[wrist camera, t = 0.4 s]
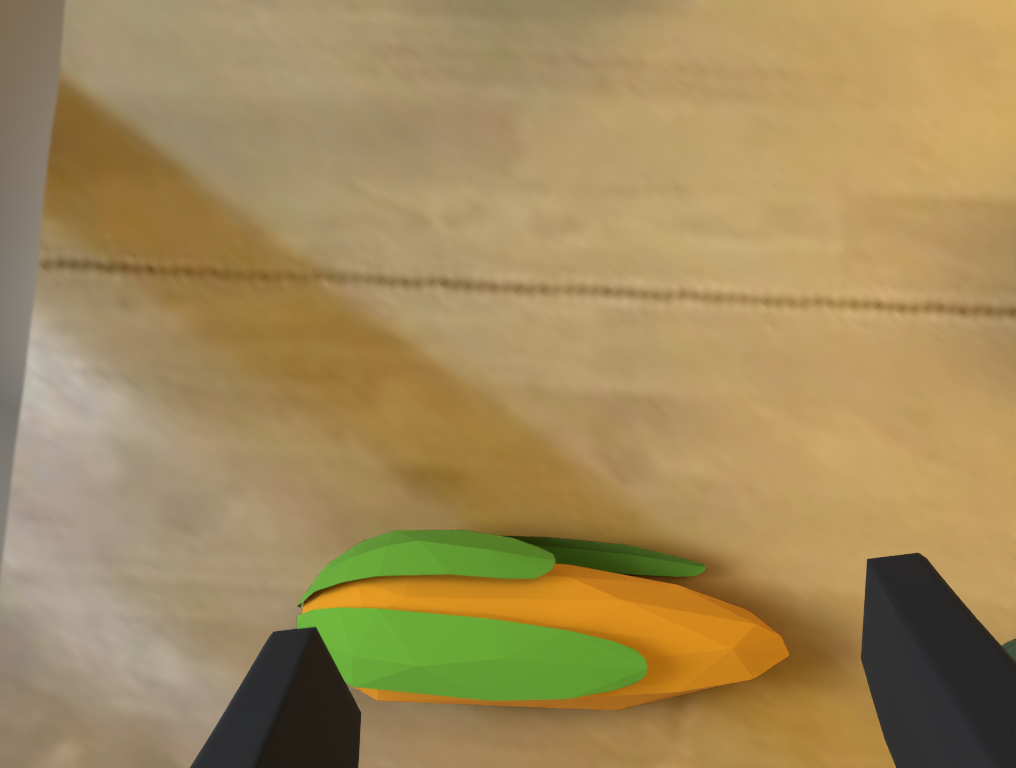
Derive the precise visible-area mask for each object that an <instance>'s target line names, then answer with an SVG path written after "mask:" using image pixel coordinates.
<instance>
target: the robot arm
mask: <svg viewBox="0 0 1016 768" xmlns="http://www.w3.org/2000/svg"><path fill="white" fill-rule="evenodd" d="M861 660H862V664H863V667H864V671H865V674H866V677H867V681H868V684H869V688H870V691H871V695H872V698H873V702H874V705H875V708H876V712H877V715H878V718H879V722H880V725H881V728H882V732H883V735H884V738H885V741H886V743H887V746H888V748H889V751H890V753H891V756H892V758H893V760H894V763H895V765H896V768H1016V661H1015V660H1014V659H1013V658H1012V657H1011V656H1010V655H1009V654H1008V653H1007V652H1006V651H1005V649H1004V648H1003V647H1002V646H1001V645H1000V644H999V643H998V642H997V641H996V639H995V638H994V637H993V636H992V635H991V634H990V633H989V632H988V631H987V629H986V628H985V627H984V626H983V625H982V624H981V623H980V622H979V620H978V619H977V618H976V617H975V616H974V615H973V614H972V612H971V611H970V610H969V609H968V608H967V607H966V605H965V604H964V603H963V602H962V601H961V600H960V598H959V597H958V596H957V595H956V594H955V592H954V591H953V590H952V589H951V588H950V586H949V585H948V584H947V583H946V582H945V580H944V579H943V578H942V577H941V576H940V574H939V573H938V572H937V571H936V569H935V568H934V567H933V566H932V564H931V563H930V562H929V561H928V559H927V558H925V557H924V556H922V555H921V554H919V553H913V554H905V555H896V556H888V557H880V558H872V559H867V570H866V586H865V603H864V619H863V635H862V651H861ZM360 725H361V712H360V710H359V708H358V706H357V704H356V702H355V700H354V698H353V696H352V694H351V692H350V691H349V689H348V687H347V685H346V683H345V681H344V679H343V677H342V675H341V673H340V672H339V670H338V668H337V666H336V664H335V662H334V660H333V658H332V656H331V654H330V652H329V651H328V649H327V647H326V645H325V643H324V641H323V639H322V637H321V635H320V633H319V631H318V630H317V628H316V627H308V628H300V629H292V630H284V631H276V632H273V633H272V634H271V635H270V637H269V638H268V640H267V641H266V643H265V645H264V646H263V648H262V650H261V651H260V653H259V655H258V656H257V658H256V660H255V661H254V663H253V665H252V667H251V668H250V670H249V672H248V673H247V675H246V677H245V678H244V680H243V682H242V684H241V685H240V687H239V689H238V690H237V692H236V694H235V695H234V697H233V699H232V700H231V702H230V704H229V705H228V707H227V709H226V710H225V712H224V714H223V715H222V717H221V719H220V720H219V722H218V724H217V725H216V727H215V729H214V730H213V732H212V733H211V735H210V737H209V738H208V740H207V741H206V743H205V745H204V746H203V748H202V749H201V751H200V753H199V754H198V756H197V757H196V759H195V760H194V762H193V764H192V765H191V767H190V768H358V762H359V745H360Z"/></svg>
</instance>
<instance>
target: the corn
mask: <svg viewBox="0 0 1016 768" xmlns="http://www.w3.org/2000/svg"><path fill="white" fill-rule="evenodd" d="M705 569H706V566H705V565H704V564H700V563H697V562H693V561H690V560H686V559H683V558H680V557H676V556H672V555H668V554H664V553H659V552H655V551H651V550H646V549H642V548H638V547H634V546H629V545H622V544H612V543H602V542H591V541H581V540H571V539H561V538H550V537H525V536H497V535H491V534H485V533H478V532H472V531H466V530H410V531H392V532H389V533H386V534H383V535H380V536H377V537H374V538H371V539H368V540H364V541H362V542H360V543H359V544H357V545H356V546H354V547H353V548H351V549H350V550H348V551H347V552H345V553H343V554H342V555H340V556H339V557H337V558H336V559H334V560H333V561H331V562H330V563H329V564H328V565H327V566H326V567H325V568H324V569H323V570H322V571H321V573H320V574H319V575H318V577H317V578H316V579H315V581H314V582H313V584H312V585H311V586H310V588H309V589H308V591H307V592H306V593H305V595H304V596H303V598H302V599H301V601H300V603H299V605H298V607H300V608H301V604H302V602H303V601H304V600H305V599H306V598H307V597H308V596H309V597H308V598H307V599H306V600H305V601H304V604H303V610H302V614H301V615H299V616H297V629H300V628H308V627H316V628H317V630H318V631H319V633H320V635H321V637H322V639H323V641H324V643H325V645H326V647H327V649H328V651H329V652H330V654H331V656H332V658H333V660H334V662H335V664H336V666H337V668H338V670H339V672H340V673H341V675H342V677H343V679H344V681H345V683H347V684H349V685H350V686H352V687H355V688H357V689H359V690H360V691H362V692H364V693H365V694H367V695H369V696H370V697H372V698H374V699H376V700H377V701H396V702H420V703H445V704H470V705H494V706H519V707H544V708H568V709H593V710H620V709H624V708H629V707H633V706H637V705H641V704H646V703H650V702H654V701H658V700H663V699H667V698H671V697H676V696H680V695H684V694H688V693H693V692H697V691H701V690H705V689H710V688H714V687H718V686H723V685H727V684H731V683H735V682H740V681H746V680H751V679H754V678H756V677H757V676H759V675H760V674H762V673H763V672H765V671H766V670H768V669H769V668H771V667H772V666H774V665H775V664H777V663H778V662H780V661H781V660H783V659H784V658H786V657H787V656H789V652H788V650H787V648H786V646H785V644H784V642H783V639H782V637H781V636H780V635H779V634H778V633H776V632H775V631H774V630H773V629H771V628H770V627H769V626H768V625H766V624H765V623H764V622H762V621H761V620H760V619H759V618H757V617H756V616H755V615H754V614H752V613H751V612H750V611H748V610H746V609H743V608H740V607H737V606H735V605H732V604H729V603H726V602H724V601H721V600H718V599H715V598H712V597H710V596H707V595H704V594H701V593H699V592H696V591H693V590H690V589H688V588H685V587H682V586H679V585H675V584H670V583H665V582H659V581H654V580H649V579H644V578H638V577H633V576H628V575H622V574H636V575H653V576H670V577H677V576H695V575H698V574H700V573H703V572H704V571H705Z"/></svg>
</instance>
